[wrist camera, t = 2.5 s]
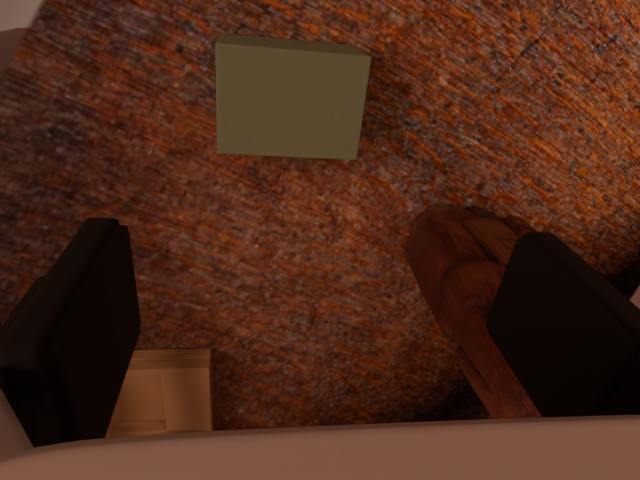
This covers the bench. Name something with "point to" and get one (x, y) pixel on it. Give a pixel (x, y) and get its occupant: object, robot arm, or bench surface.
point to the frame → (165, 394)
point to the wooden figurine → (469, 294)
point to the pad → (289, 97)
